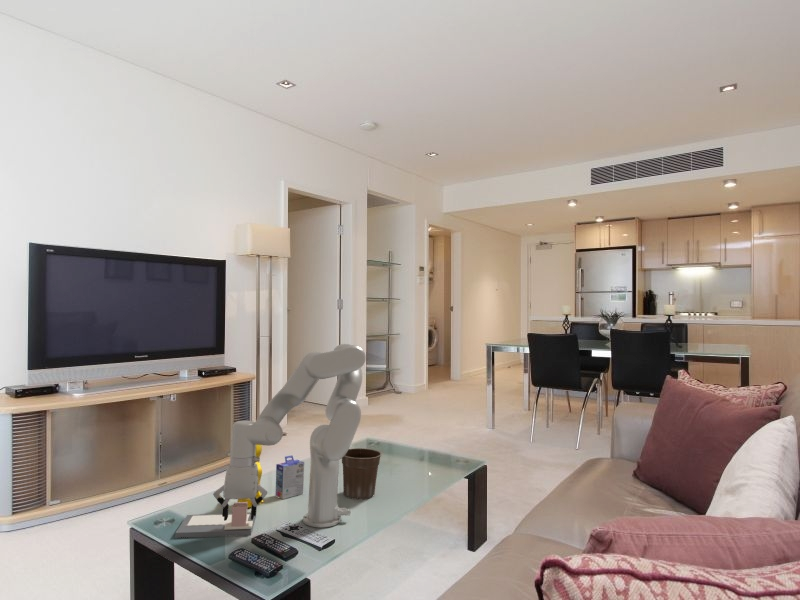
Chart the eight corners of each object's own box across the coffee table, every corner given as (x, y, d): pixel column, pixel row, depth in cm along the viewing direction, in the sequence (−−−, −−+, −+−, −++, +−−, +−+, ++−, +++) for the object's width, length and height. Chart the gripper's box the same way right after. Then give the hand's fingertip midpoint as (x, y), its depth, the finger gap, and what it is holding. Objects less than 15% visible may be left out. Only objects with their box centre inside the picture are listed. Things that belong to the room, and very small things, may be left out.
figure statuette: (222, 503, 177) (226, 441, 178) (239, 497, 184) (242, 437, 185) (257, 514, 168) (261, 449, 169) (274, 507, 175) (277, 445, 176)
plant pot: (353, 485, 203) (355, 445, 204) (387, 492, 195) (389, 451, 196) (330, 496, 189) (332, 453, 190) (365, 504, 181) (367, 460, 182)
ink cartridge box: (295, 490, 194) (297, 453, 195) (303, 494, 190) (305, 456, 191) (274, 495, 187) (276, 457, 187) (282, 499, 183) (284, 460, 184)
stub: (252, 523, 156) (254, 501, 156) (251, 528, 152) (252, 506, 152) (226, 524, 154) (227, 502, 155) (224, 529, 150) (225, 507, 151)
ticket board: (255, 517, 165) (256, 512, 165) (250, 535, 151) (251, 529, 151) (186, 519, 161) (187, 514, 161) (175, 537, 147) (175, 532, 147)
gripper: (271, 457, 159) (268, 513, 158) (216, 458, 156) (212, 514, 155) (270, 464, 152) (266, 522, 151) (211, 464, 149) (207, 524, 148)
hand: (239, 518), depth 153 cm, fingers open, 7 cm apart
